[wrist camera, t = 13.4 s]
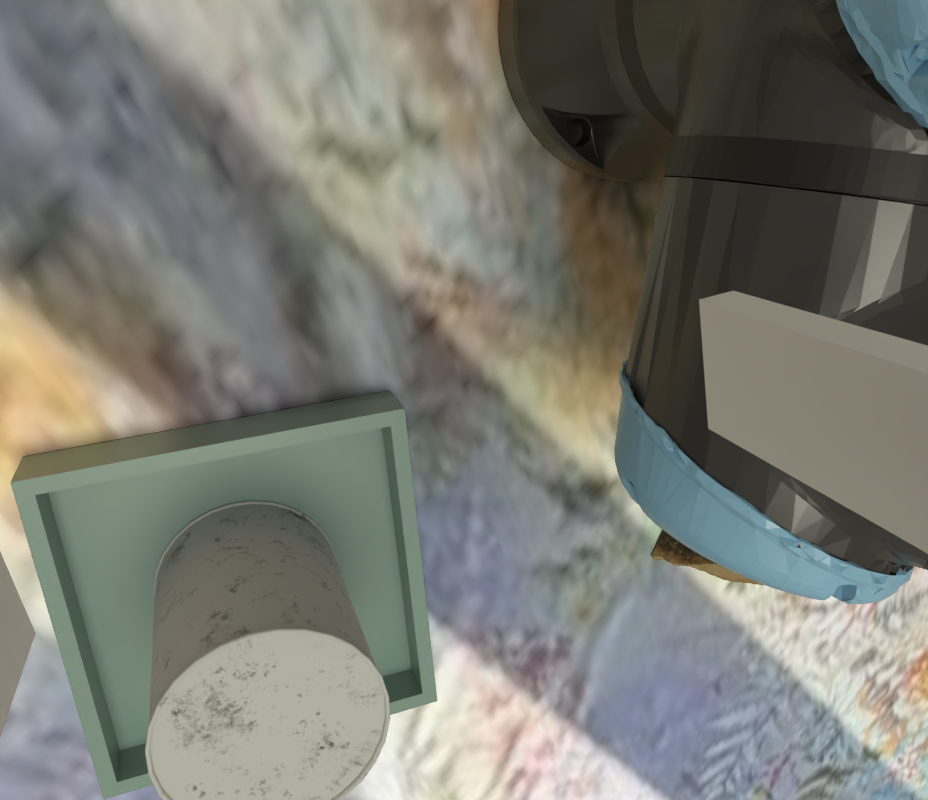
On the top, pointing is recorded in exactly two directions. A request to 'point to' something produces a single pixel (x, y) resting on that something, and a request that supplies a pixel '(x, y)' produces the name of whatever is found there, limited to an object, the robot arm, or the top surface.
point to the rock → (692, 559)
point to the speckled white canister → (259, 664)
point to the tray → (191, 495)
